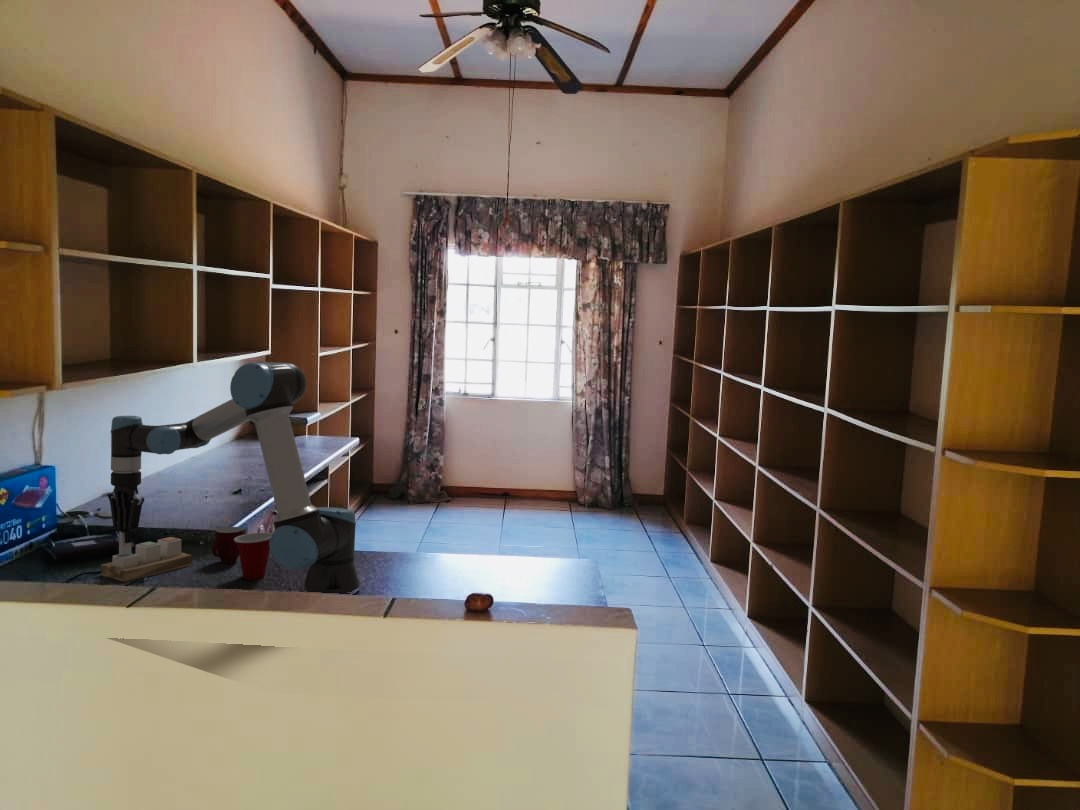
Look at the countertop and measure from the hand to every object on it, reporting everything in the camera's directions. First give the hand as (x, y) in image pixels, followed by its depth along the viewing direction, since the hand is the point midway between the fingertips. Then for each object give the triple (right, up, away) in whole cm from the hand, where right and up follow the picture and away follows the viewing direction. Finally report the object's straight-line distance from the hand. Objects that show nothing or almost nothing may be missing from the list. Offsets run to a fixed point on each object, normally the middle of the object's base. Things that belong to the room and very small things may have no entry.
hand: (125, 553), depth 216 cm
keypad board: (+3, -6, +7) cm, 9 cm away
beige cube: (+6, -3, +13) cm, 15 cm away
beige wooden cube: (+3, -4, +6) cm, 8 cm away
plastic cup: (+34, -8, +5) cm, 36 cm away
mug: (+21, -6, +17) cm, 28 cm away
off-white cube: (0, -6, 0) cm, 6 cm away
